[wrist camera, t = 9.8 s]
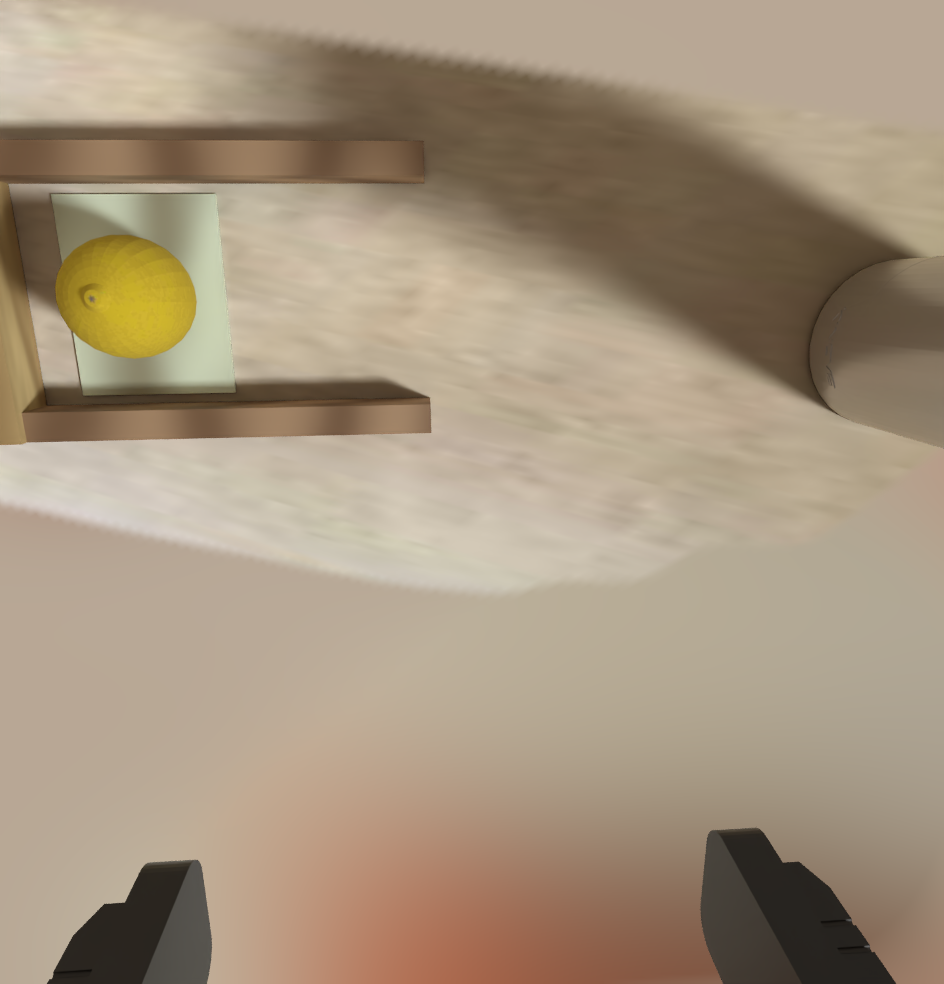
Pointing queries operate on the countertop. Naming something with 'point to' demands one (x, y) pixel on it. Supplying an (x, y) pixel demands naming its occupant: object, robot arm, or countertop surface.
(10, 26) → the countertop surface
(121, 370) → the brown wooden u-shaped frame
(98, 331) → the lemon
